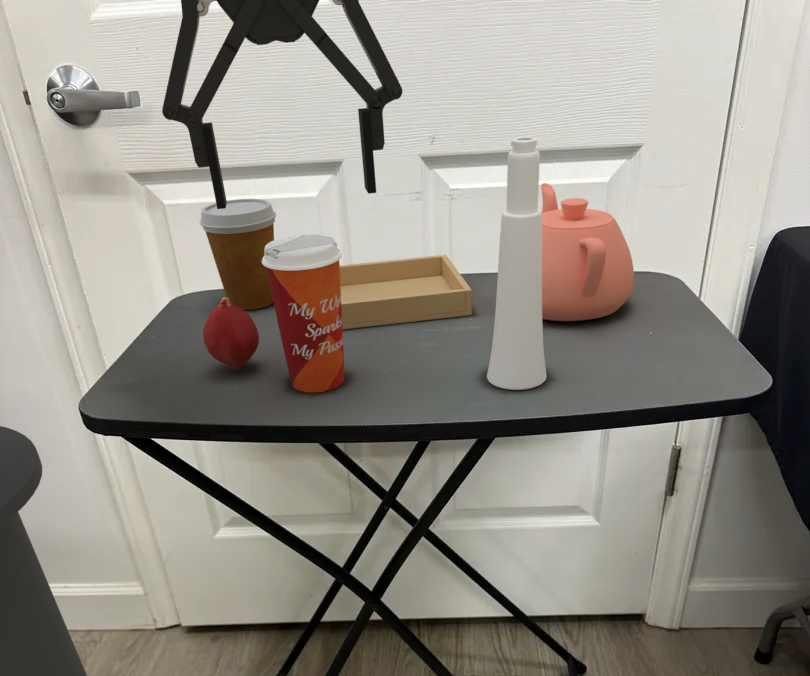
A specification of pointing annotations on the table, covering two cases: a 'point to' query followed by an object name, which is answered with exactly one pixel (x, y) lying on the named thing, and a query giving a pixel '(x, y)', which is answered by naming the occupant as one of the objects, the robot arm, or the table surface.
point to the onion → (230, 335)
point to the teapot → (582, 261)
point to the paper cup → (308, 308)
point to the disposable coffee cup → (241, 249)
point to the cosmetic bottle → (519, 277)
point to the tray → (402, 292)
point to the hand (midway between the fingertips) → (297, 198)
